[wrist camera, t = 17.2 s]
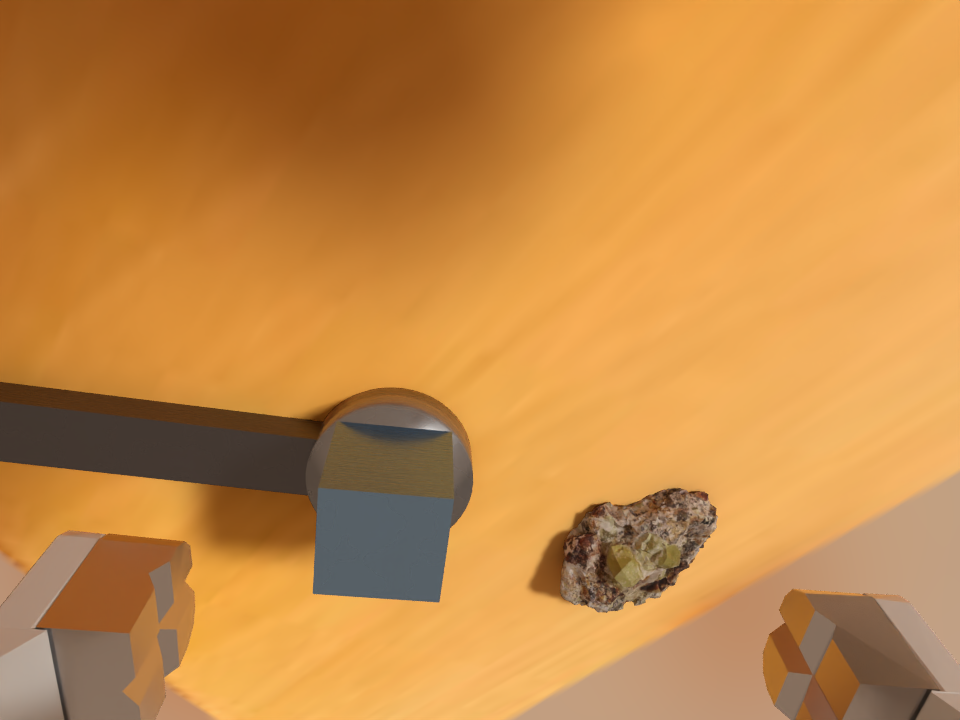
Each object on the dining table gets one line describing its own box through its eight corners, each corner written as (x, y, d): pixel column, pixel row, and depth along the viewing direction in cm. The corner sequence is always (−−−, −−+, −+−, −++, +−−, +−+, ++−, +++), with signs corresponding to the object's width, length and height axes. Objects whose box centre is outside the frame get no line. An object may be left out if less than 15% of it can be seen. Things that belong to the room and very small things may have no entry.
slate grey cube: (452, 431, 37) (454, 499, 31) (439, 524, 39) (439, 602, 34) (337, 421, 36) (318, 487, 31) (331, 516, 38) (312, 593, 33)
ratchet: (2, 480, 39) (-76, 556, 33) (-15, 333, 36) (-106, 389, 30) (457, 529, 42) (460, 607, 36) (483, 398, 39) (491, 461, 33)
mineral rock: (613, 651, 44) (547, 604, 39) (588, 594, 48) (525, 545, 43) (757, 558, 42) (706, 498, 37) (721, 506, 46) (669, 445, 41)
